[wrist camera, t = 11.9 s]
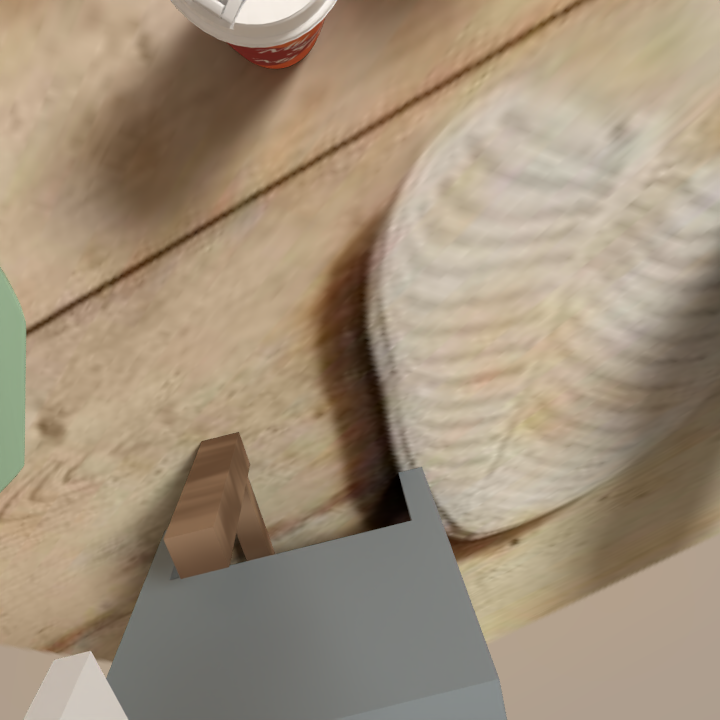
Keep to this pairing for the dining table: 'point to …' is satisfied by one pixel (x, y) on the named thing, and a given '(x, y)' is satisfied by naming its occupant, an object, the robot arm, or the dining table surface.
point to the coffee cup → (261, 26)
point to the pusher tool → (216, 511)
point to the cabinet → (314, 633)
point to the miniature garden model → (11, 383)
